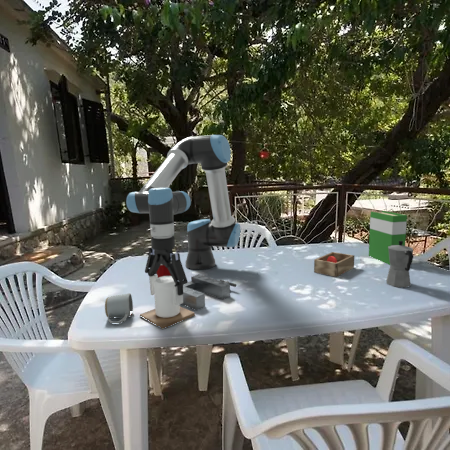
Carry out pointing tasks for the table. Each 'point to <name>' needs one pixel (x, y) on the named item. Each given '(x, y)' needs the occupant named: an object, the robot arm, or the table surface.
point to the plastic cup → (163, 271)
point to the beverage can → (165, 297)
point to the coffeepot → (399, 265)
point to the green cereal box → (385, 233)
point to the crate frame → (334, 264)
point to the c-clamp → (204, 290)
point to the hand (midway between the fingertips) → (166, 298)
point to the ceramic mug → (118, 307)
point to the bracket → (332, 259)
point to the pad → (167, 321)
